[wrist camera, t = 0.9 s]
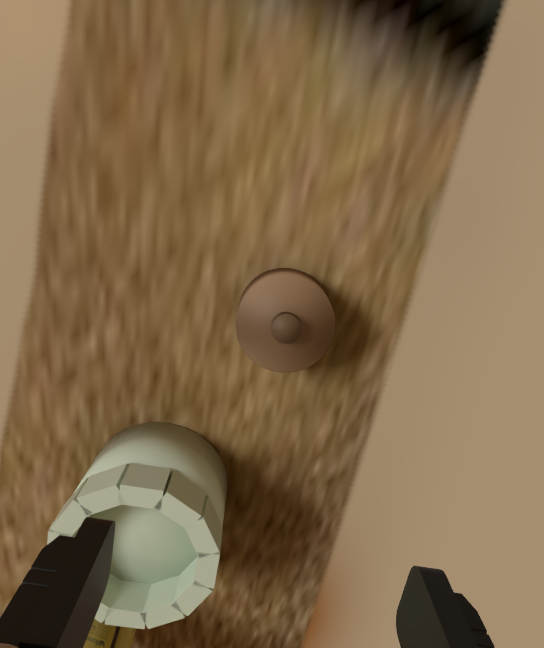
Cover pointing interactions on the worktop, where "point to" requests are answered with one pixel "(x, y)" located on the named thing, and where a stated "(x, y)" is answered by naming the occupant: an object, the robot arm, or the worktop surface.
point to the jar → (153, 521)
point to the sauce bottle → (109, 636)
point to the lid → (285, 320)
